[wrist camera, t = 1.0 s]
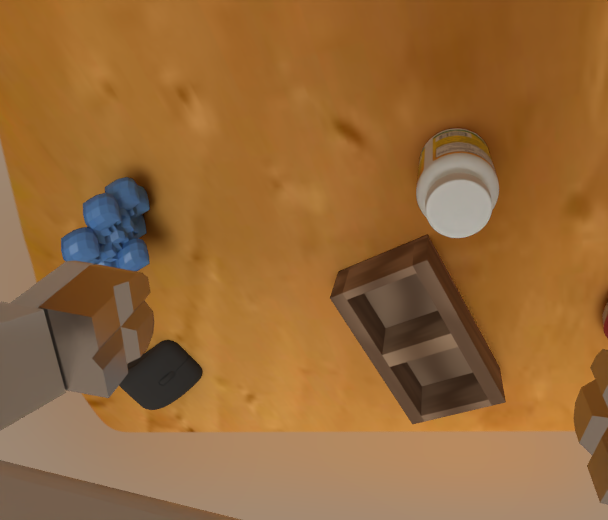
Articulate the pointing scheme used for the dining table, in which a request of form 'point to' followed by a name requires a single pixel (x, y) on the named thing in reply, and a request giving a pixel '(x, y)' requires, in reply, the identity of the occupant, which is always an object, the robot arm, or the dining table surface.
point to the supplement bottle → (456, 183)
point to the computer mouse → (161, 375)
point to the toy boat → (605, 320)
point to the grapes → (112, 228)
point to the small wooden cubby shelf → (418, 332)
